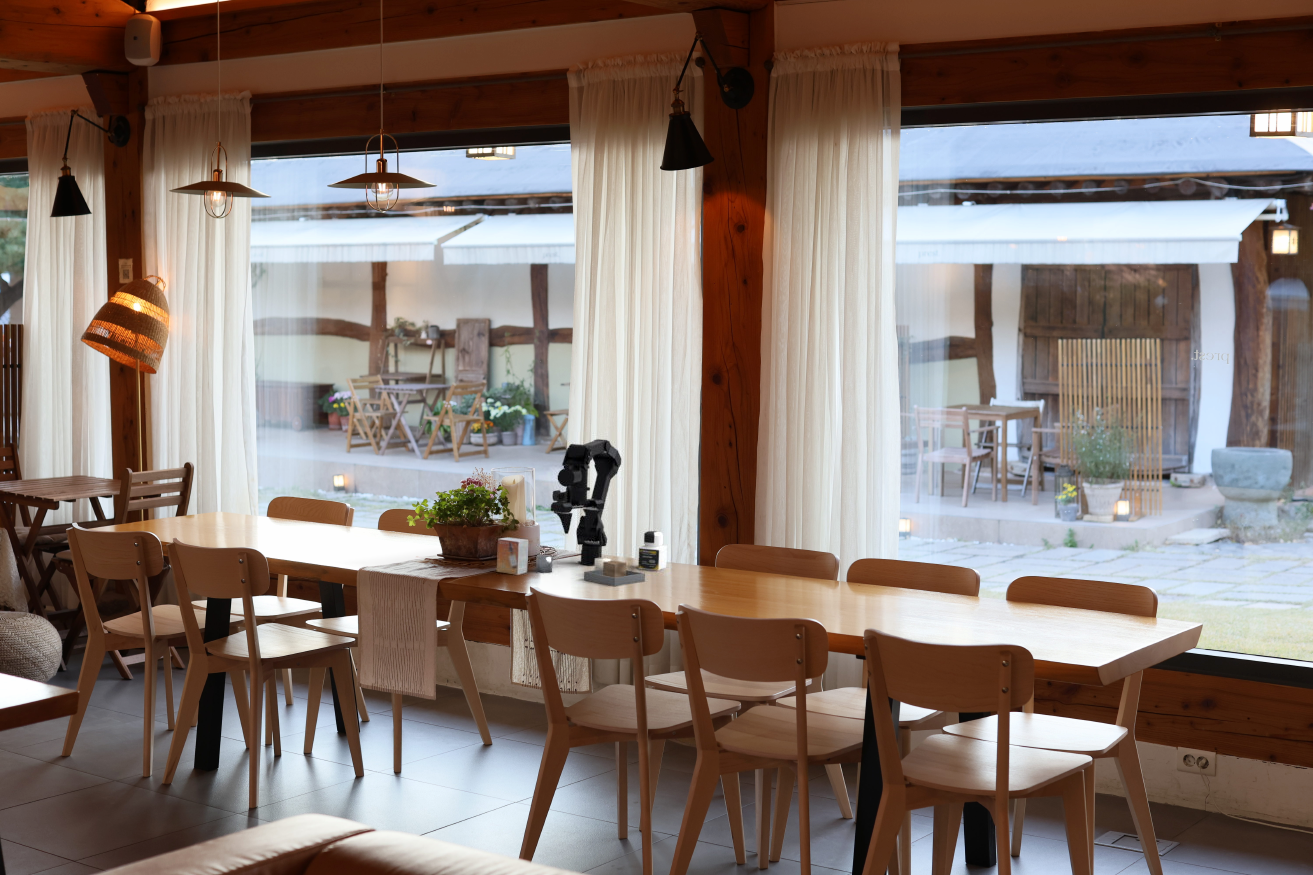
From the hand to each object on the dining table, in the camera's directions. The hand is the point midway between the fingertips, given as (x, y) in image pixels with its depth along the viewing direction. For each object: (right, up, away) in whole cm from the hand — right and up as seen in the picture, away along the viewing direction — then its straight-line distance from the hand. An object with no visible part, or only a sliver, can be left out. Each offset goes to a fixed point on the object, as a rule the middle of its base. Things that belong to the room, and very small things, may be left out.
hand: (576, 532), depth 410 cm
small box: (-20, -12, -7) cm, 24 cm away
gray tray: (+12, -14, -15) cm, 24 cm away
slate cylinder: (-10, -12, -4) cm, 16 cm away
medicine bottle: (+24, -13, +9) cm, 28 cm away
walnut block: (+12, -13, -15) cm, 23 cm away
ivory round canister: (+8, -13, -6) cm, 16 cm away
